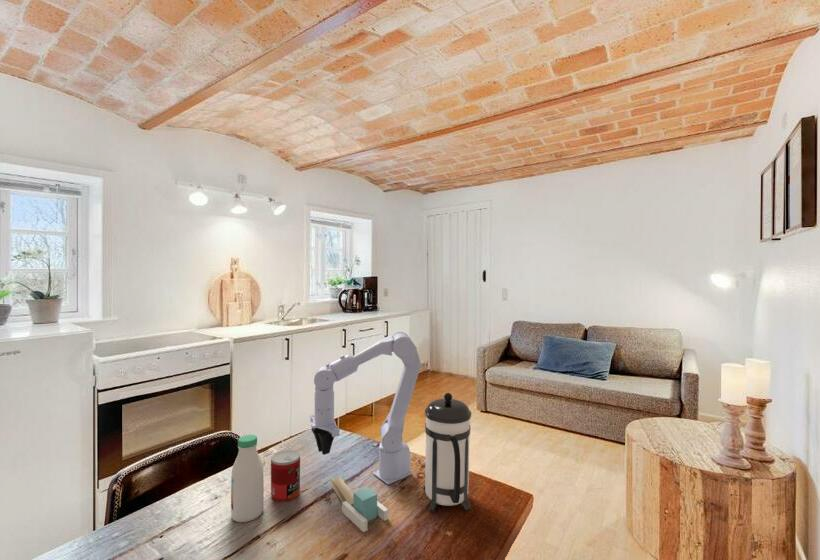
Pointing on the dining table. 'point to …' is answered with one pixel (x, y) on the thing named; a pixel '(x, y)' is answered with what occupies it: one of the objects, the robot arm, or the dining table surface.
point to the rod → (342, 490)
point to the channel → (358, 518)
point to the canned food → (285, 475)
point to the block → (365, 503)
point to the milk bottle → (247, 481)
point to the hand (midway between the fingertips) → (324, 452)
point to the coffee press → (447, 452)
